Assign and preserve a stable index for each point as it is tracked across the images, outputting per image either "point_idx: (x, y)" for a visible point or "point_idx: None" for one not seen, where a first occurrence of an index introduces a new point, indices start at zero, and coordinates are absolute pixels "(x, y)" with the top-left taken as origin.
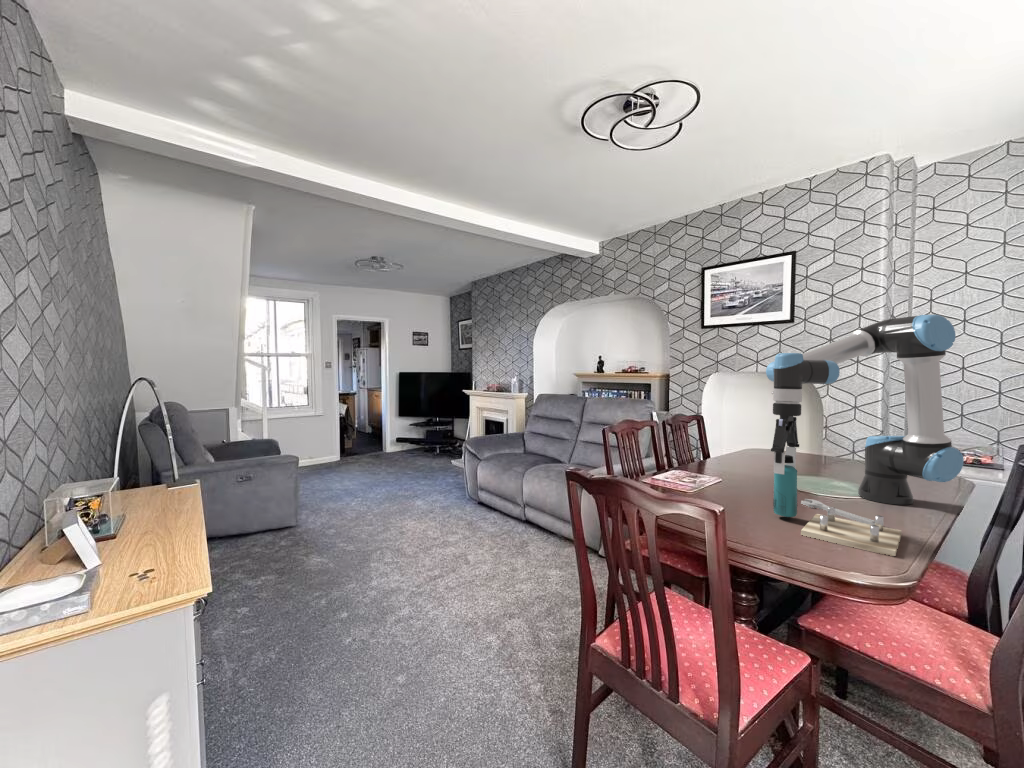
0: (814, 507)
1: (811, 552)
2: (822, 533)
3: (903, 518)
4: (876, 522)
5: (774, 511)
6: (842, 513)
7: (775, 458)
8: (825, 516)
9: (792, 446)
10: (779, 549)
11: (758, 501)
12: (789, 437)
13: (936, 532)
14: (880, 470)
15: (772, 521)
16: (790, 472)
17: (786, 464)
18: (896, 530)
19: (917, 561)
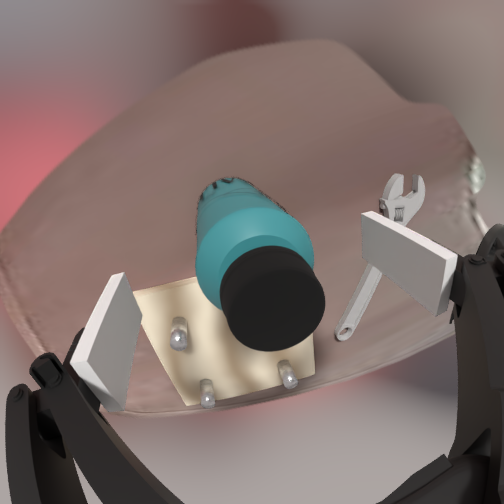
0: (384, 209)
1: (74, 336)
2: (154, 329)
3: (413, 323)
4: (282, 374)
5: (206, 189)
6: (367, 274)
7: (70, 348)
8: (179, 347)
9: (454, 292)
10: (35, 302)
11: (332, 83)
12: (469, 357)
13: (367, 371)
14: None
15: (168, 200)
16: (218, 308)
17: (368, 222)
18: (308, 372)
19: (199, 411)
